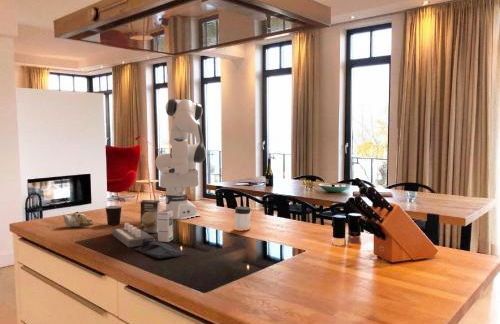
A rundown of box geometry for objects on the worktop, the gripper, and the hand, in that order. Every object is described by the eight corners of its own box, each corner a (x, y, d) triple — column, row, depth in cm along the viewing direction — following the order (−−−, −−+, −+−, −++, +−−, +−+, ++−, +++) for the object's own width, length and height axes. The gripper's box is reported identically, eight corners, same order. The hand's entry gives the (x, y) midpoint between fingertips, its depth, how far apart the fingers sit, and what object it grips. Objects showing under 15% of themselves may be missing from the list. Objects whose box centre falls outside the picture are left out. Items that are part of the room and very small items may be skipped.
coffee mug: (118, 226, 228) (118, 208, 227) (103, 226, 228) (103, 208, 227) (125, 221, 240) (125, 204, 239) (110, 221, 240) (110, 204, 239)
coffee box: (139, 232, 215) (139, 202, 214) (142, 229, 222) (142, 200, 220) (157, 232, 216) (157, 202, 214) (159, 229, 222) (159, 200, 221)
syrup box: (168, 242, 198) (168, 212, 197) (157, 241, 199) (157, 211, 198) (173, 239, 203) (173, 209, 202) (162, 238, 205) (162, 209, 203)
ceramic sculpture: (63, 209, 227) (92, 209, 234) (62, 225, 228) (91, 224, 234) (63, 213, 218) (93, 213, 224) (62, 230, 218) (93, 229, 224)
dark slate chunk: (154, 263, 168) (154, 251, 168) (132, 250, 185) (132, 239, 185) (187, 256, 178) (187, 245, 177) (164, 244, 195) (164, 235, 194)
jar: (253, 230, 224) (253, 208, 223) (241, 232, 219) (242, 209, 218) (243, 227, 231) (243, 205, 230) (231, 229, 226) (231, 207, 225)
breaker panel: (135, 232, 216) (135, 225, 216) (153, 243, 195) (153, 236, 195) (112, 234, 210) (112, 228, 209) (128, 247, 188) (128, 240, 188)
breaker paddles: (127, 228, 211) (127, 222, 210) (141, 237, 194) (140, 230, 194) (124, 229, 210) (124, 223, 209) (137, 237, 193) (137, 231, 193)
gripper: (195, 168, 222) (195, 193, 223) (159, 169, 211) (158, 196, 211) (200, 169, 217) (200, 195, 218) (163, 170, 205) (163, 197, 206)
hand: (179, 195), depth 214 cm, fingers closed
